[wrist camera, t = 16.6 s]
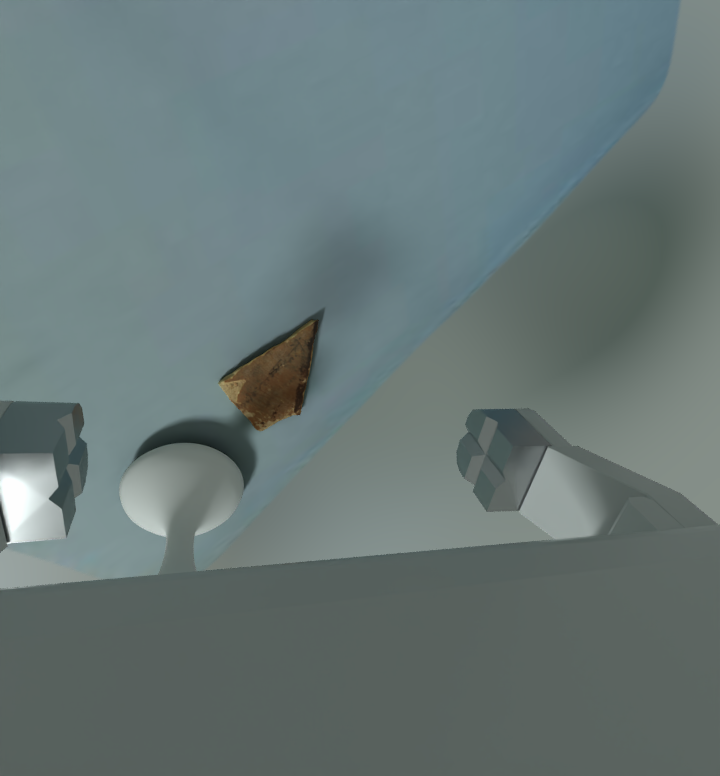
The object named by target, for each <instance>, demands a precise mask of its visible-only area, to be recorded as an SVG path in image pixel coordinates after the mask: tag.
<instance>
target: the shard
mask: <svg viewBox="0 0 720 776" xmlns="http://www.w3.org/2000/svg"><path fill="white" fill-rule="evenodd" d="M318 321H319V320H314V321H313V320H310V321H309V322H308V323H307V324H305V325H304V326H302V327H301V328H299V329H298V330H297V331H296V332H294V333H293V334H292V335H291V336H290V337H288V338H287V339H286V340H285V341H283V342H282V343H280V344H278V345H277V346H273V347H272V348H270V349H269V350H267V351H266V352H265V353H263V354H262V355H260V356H258V357H256V358H255V359H253V360H252V361H251V362H249V363H247V364H245V365H242V366H241V367H239V368H238V369H237V370H235V371H234V372H233V373H232V374H229V375H227V376H226V377H225V378H224V379H222V380H220V381H219V383H218V384H219V385H220V387H221V388H222V390H223V391H224V392H225V393H226V395H227V396H228V398H229V399H230V400H231V402H232V403H234V404H235V406H236V407H237V408H238V409H239V410H241V411H242V413H243V414H244V415H245V416H246V417H247V418H248V419H249V420H250V422H251V423H252V425H253V426H254V428H255V429H256V430H259V431H263V430H265V429H267V428H268V427H270V426H271V425H273V424H275V423H276V422H278V421H280V420H282V419H285V418H287V417H290V416H292V415H300V414H301V409H302V403H303V400H304V392H305V390H306V384H307V380H308V376H309V371H310V366H311V360H312V353H313V343H314V339H315V334H316V332H317V328H318Z"/></svg>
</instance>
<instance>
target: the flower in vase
mask: <svg viewBox="0 0 720 776" xmlns="http://www.w3.org/2000/svg"><path fill="white" fill-rule="evenodd" d="M243 489H244V481H243V477H242V474H241V472H240V470H239V468H238V467H237V465H236V464H235V463H234V462H233V460H231V459H230V458H229V457H228V456H227V455H225V454H223V453H222V452H220V451H218V450H216V449H214V448H211V447H208V446H205V445H201V444H196V443H174V444H169V445H165V446H161V447H158V448H156V449H153V450H151V451H149V452H147V453H145V454H143V455H141V456H140V457H139V458H137V459H136V460H135V461H134V462H133V463H132V464H131V465H130V466H129V467H128V468H127V470H126V471H125V473H124V474H123V476H122V479H121V482H120V487H119V495H120V499H121V503H122V505H123V508H124V510H125V512H126V513H127V515H128V516H129V518H130V519H131V520H132V521H133V522H134V523H136V524H137V525H138V526H140V527H141V528H143V529H145V530H147V531H149V532H152V533H154V534H157V535H160V536H165V537H166V549H165V555H164V559H163V563H162V566H161V568H160V571H159V573H158V575H161V574H172V573H183V572H194V571H196V567H195V563H194V554H193V543H194V536H196V535H199V534H202V533H205V532H207V531H210V530H212V529H214V528H215V527H217V526H219V525H221V524H222V523H223V522H225V521H226V520H227V519H228V518H229V517H230V516H231V515H232V514H233V513H234V511H235V510H236V508H237V506H238V504H239V502H240V500H241V498H242V495H243Z"/></svg>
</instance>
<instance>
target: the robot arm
mask: <svg viewBox="0 0 720 776" xmlns="http://www.w3.org/2000/svg"><path fill="white" fill-rule="evenodd" d="M465 425H466V428H467V430H468V433H467V434H466V435H465V436H464V437H463V438H462V439H461V440H460V442H459V445H458V449H457V465H458V468H459V471H460V473H461V474H462V476H463V477H464V479H466V480H467V481H469V482H471V483H473V484H474V489H473V492H474V494H475V495H476V496H477V498H478V499H479V501H480V503H481V504H482V505H483V507H484V508H485V510H486V511H487V512H493V511H519V513H520V514H522V515H523V516H525V517H526V518H527V519H529V520H530V521H531V522H533V523H534V524H535V525H537V526H538V527H539V528H541V529H542V530H543V531H545V532H546V533H547V534H549V535H550V536H551V537H553V538H554V540H542V541H532V542H521V543H509V544H499V545H486V546H475V547H464V548H453V549H442V550H430V551H419V552H409V553H397V554H386V555H375V556H364V557H353V558H341V559H330V560H318V561H307V562H296V563H285V564H273V565H262V566H251V567H239V568H230V569H229V568H228V569H217V570H206V571H194V572H183V573H172V574H161V575H149V576H138V577H127V578H116V579H104V580H93V581H82V582H71V583H60V584H48V585H37V586H26V587H15V588H3V589H0V776H720V525H718V524H717V523H716V522H714V521H713V520H712V519H711V518H710V517H708V516H707V515H706V514H705V513H704V512H702V511H701V510H700V509H699V508H698V507H696V506H695V505H694V504H693V503H691V502H690V501H689V500H688V499H687V498H686V497H684V496H683V495H682V494H680V493H678V492H676V491H674V490H672V489H670V488H668V487H665V486H663V485H661V484H659V483H657V482H655V481H653V480H650V479H648V478H646V477H644V476H642V475H639V474H637V473H635V472H633V471H631V470H629V469H626V468H624V467H622V466H620V465H618V464H616V463H613V462H611V461H609V460H607V459H604V458H603V457H600V456H598V455H596V454H594V453H591V452H589V451H587V450H585V449H583V448H581V447H579V446H572V445H571V444H570V443H568V442H567V441H566V440H565V439H564V438H563V437H562V436H561V435H560V434H559V433H558V432H557V431H555V429H554V428H553V427H551V426H550V425H549V424H548V423H547V422H546V421H545V420H544V419H543V418H542V417H541V416H540V415H538V413H536V411H534V410H531V409H529V408H524V409H478V410H477V409H476V410H472V412H471V413H470V414H469V416H468V418H467V421H466V424H465ZM83 426H84V418H83V412H82V407H81V406H80V404H79V403H58V402H26V401H16V402H14V401H0V552H1V551H3V550H4V549H5V548H6V547H7V544H8V543H19V542H31V541H42V540H54V539H65V538H67V535H68V532H69V529H70V526H71V523H72V521H73V518H74V515H75V512H76V506H75V499H74V498H76V497H77V496H78V495H80V494H81V493H82V491H83V488H84V485H85V482H86V475H87V468H88V452H87V443H86V442H84V441H83V440H82V439H81V438H80V437H79V436H80V433H81V431H82V428H83Z"/></svg>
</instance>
